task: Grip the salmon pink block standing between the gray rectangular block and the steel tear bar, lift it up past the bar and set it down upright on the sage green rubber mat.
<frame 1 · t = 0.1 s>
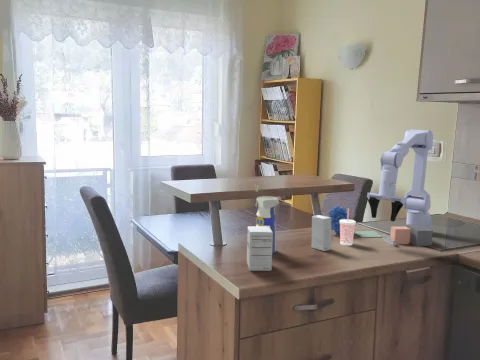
hand: (383, 219, 170), 11 cm above the countertop, tool pointing down, fingers open, 7 cm apart
gray rectangular block: (418, 234, 178), on the countertop
tear bar: (388, 242, 177), on the countertop
supplement box: (258, 267, 145), on the countertop
spray bottle: (265, 251, 163), on the countertop
grapes: (339, 234, 188), on the countertop
mat: (368, 234, 189), on the countertop
skincare box: (320, 249, 167), on the countertop
beverage cup: (346, 244, 174), on the countertop
salmon pink block: (399, 242, 178), on the countertop
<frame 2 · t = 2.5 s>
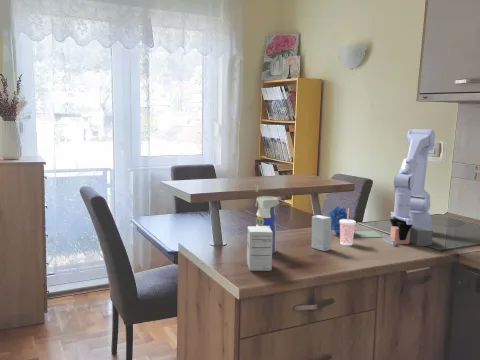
hand: (399, 238, 178), 2 cm above the countertop, tool pointing down, fingers closed on salmon pink block, 4 cm apart
salmon pink block: (399, 242, 178), on the countertop, touching gripper
everything else where it was.
when the fingers open (3 cm above the countertop, at t = 6.3 s): salmon pink block drops 1 cm, resting on mat.
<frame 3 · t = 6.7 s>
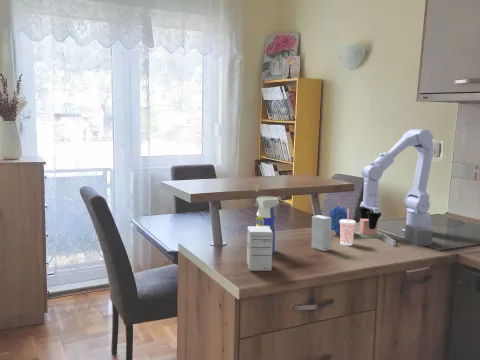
hand: (368, 226, 188), 3 cm above the countertop, tool pointing down, fingers open, 7 cm apart
salmon pink block: (367, 233, 189), resting on mat
everything else where it was.
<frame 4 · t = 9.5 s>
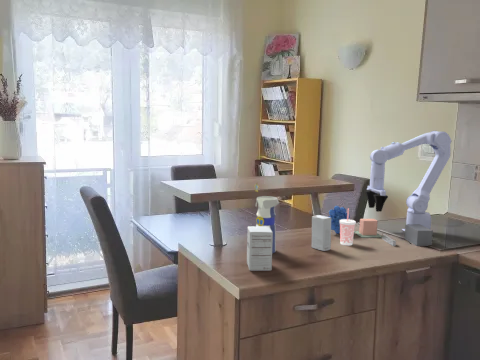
hand: (375, 209, 194), 9 cm above the countertop, tool pointing down, fingers open, 7 cm apart
nothing on the countertop moved.
at the end: salmon pink block inside the target area on the mat (0.1 cm from its centre), point 0.3 cm above the mat's base; salmon pink block tilted 0°; the gripper is holding nothing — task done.
